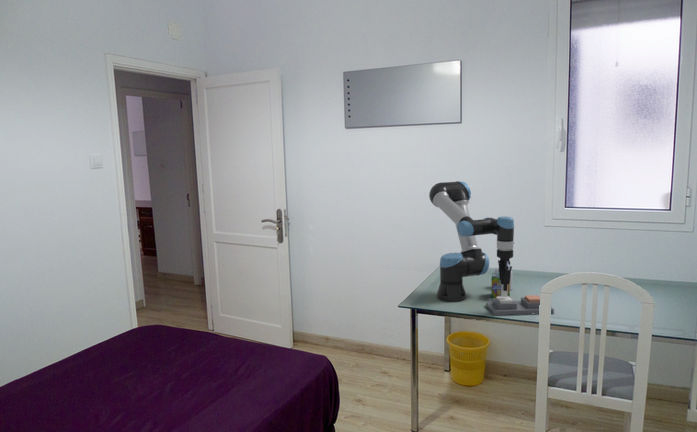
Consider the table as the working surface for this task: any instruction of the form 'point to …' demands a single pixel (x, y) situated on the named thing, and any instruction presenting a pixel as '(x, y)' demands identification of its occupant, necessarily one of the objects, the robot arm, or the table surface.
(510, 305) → the key panel
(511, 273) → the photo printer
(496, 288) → the chalk box
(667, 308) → the table surface
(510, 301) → the white key
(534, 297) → the terracotta key
